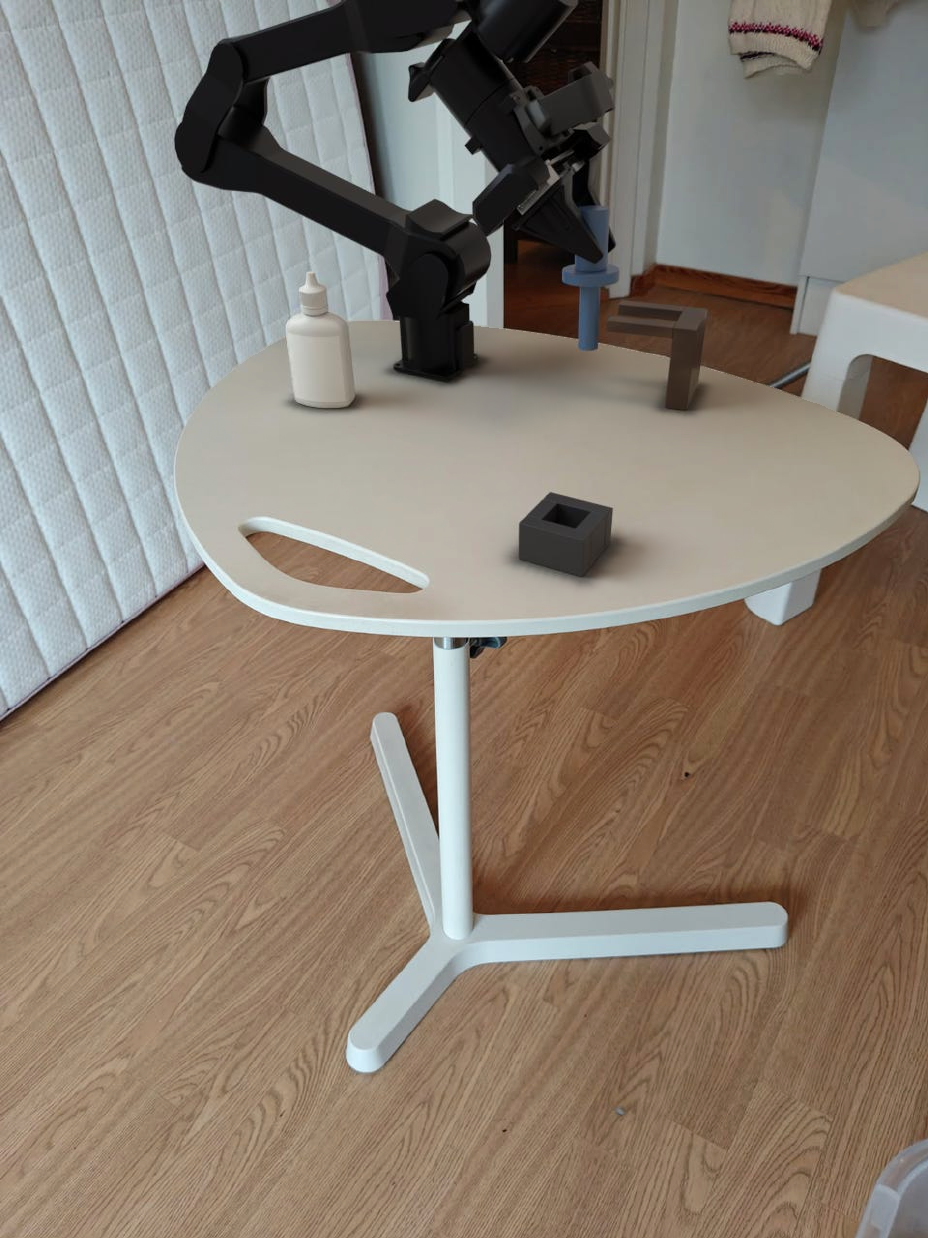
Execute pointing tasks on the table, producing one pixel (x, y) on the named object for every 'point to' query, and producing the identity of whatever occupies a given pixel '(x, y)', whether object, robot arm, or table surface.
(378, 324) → the table surface
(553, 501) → the holder
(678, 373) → the stand
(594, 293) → the peg
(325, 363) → the eye dropper bottle
